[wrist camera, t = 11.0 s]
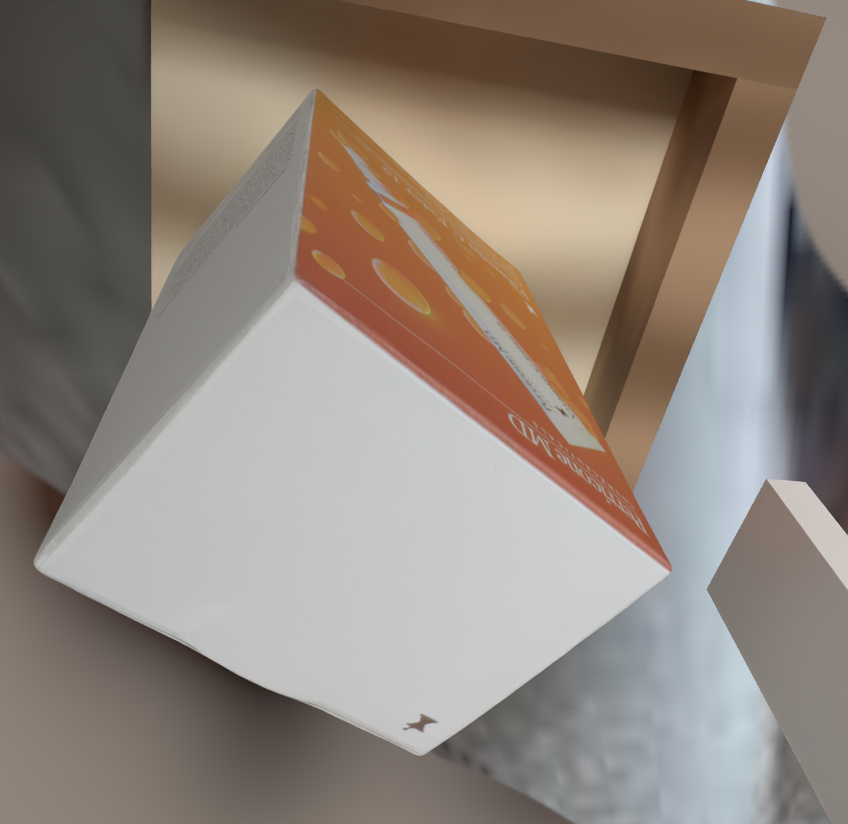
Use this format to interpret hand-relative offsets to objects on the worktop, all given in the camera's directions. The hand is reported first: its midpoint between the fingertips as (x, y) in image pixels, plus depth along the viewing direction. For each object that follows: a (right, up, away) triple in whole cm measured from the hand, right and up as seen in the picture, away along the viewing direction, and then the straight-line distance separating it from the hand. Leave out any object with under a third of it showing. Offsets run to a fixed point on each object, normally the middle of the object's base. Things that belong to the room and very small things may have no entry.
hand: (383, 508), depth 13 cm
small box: (-1, +6, +10) cm, 12 cm away
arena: (0, +6, +11) cm, 13 cm away
